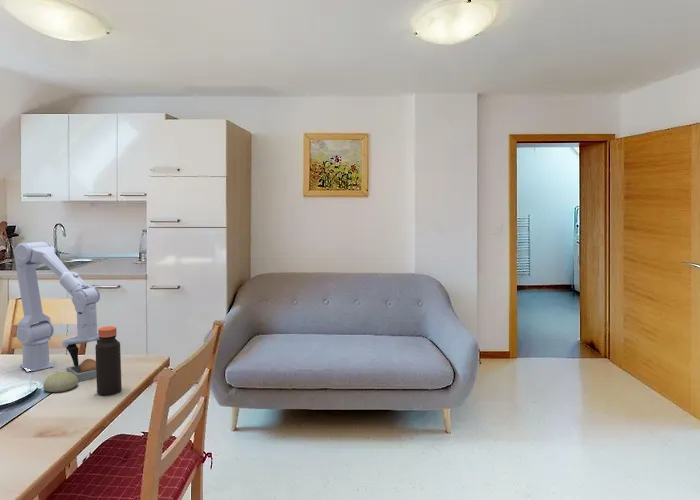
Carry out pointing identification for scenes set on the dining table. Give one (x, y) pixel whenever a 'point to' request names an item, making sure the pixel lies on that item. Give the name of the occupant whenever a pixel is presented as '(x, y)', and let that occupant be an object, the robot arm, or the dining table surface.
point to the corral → (82, 375)
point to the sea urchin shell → (60, 381)
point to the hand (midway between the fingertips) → (88, 363)
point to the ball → (88, 365)
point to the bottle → (108, 362)
